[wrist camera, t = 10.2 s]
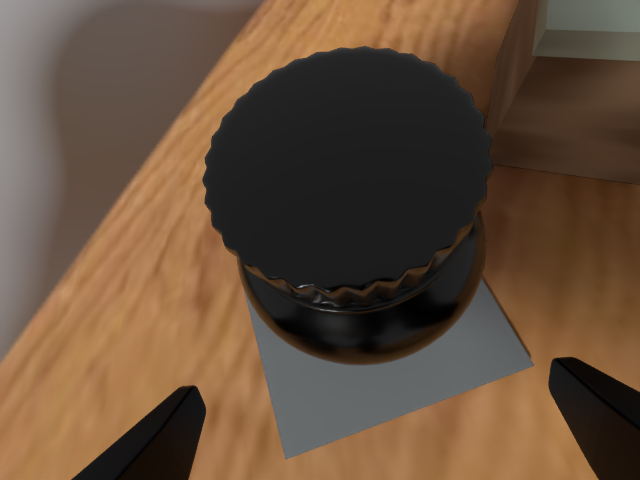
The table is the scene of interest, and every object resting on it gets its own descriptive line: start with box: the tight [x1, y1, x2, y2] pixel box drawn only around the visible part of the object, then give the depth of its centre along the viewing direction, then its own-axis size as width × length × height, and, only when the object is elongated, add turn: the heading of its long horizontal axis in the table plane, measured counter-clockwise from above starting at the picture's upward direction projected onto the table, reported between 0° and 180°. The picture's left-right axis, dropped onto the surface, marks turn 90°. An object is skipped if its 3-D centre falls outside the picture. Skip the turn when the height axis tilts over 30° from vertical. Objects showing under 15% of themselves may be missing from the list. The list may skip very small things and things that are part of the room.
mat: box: [236, 257, 534, 459], centre depth 16 cm, size 12×12×1 cm
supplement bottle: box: [202, 46, 493, 365], centre depth 10 cm, size 7×7×12 cm
